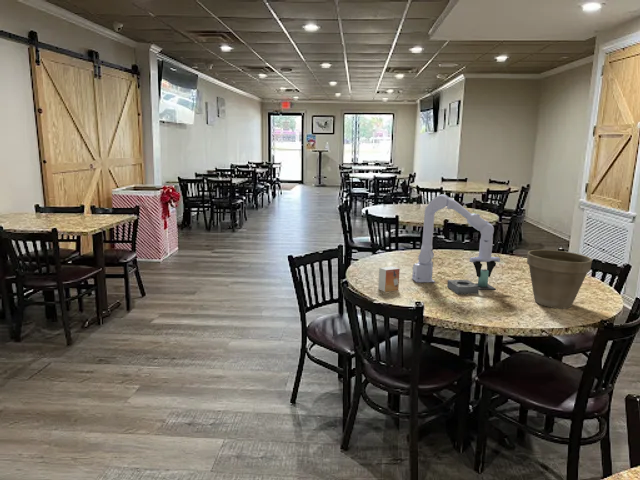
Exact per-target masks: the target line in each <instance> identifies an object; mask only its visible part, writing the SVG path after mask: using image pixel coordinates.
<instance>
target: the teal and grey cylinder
mask: <svg viewBox="0 0 640 480" xmlns="http://www.w3.org/2000/svg"><path fill="white" fill-rule="evenodd" d="M488 275H489V271H488V270H487V268H485V269H484V268H481V274H480V277H478V279H477V284H478V286H480V287H487V286H488V284H489V277H488Z"/></svg>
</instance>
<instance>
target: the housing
mask: <svg viewBox="0 0 640 480" xmlns="http://www.w3.org/2000/svg"><path fill="white" fill-rule="evenodd" d="M476 284H477V283H473V282H472V281H470V280H469V279H448V280H447V286H446V287H447V288H448V289H450V290H451V291H453V292H454V293H455V294H457V295H479V291H480V290H479V286H477V285H476Z"/></svg>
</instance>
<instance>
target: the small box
mask: <svg viewBox="0 0 640 480" xmlns="http://www.w3.org/2000/svg"><path fill="white" fill-rule="evenodd" d="M400 270H401V269H400V268H399V267H395V266H393V265H392V266H384V267H379V268H378V285H377V288H378V290H380V291H382V292H384V293H386V292H395V291H399V284H400Z"/></svg>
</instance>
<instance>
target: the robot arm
mask: <svg viewBox="0 0 640 480" xmlns="http://www.w3.org/2000/svg"><path fill="white" fill-rule="evenodd" d="M444 208H446V209H447V210H454V211H455V212H456V213H458V214H460V215H461V216H462V217H464V218H465V219H466V222H467V224H469V225H470V226H471V227H473V228H474V229H475V230H477V231H479V232H480V238H479V247H478V248H479V249H478V256H475V257H474V256H473V257H469V263H472V264H473V266H474V269H475V272H476V277H480V274H481V269H482V267H483V263H486V270H488V271H489V275H488V278H490V277H491V274H492V272H493V271H494V269H495V267H496V265H497V263H500V262H501V257H498V256H492V251H493V241H494V232H495V227H494V226H493V224H492V223H490V222H489V221H488V220H486V219H484V218H483V217H481V214H479V213H472V212H470V211H469V210H467V209H466V208H465V206H462V204H460V203H459V202H458V201H456V200H455V199H453V198H452V197H451V196H450V197H449V195H447V194H443V193H442V194H439V195H437V196H436V197H434V198H433V199H432V200H431V201H430V202H429V203H428V205H427V206H426V207H425V209H424V217H423V230H422V231H423V232H422V240H421V241H422V243H421V247H420V252H419V254H418V256H417V259H418V262H417V263H413V265H412V277H411V279H412V280H413V281H414V282H415V283H435V282H436V281H435V280H434V279H433V270H434V269H433V267H434V263H433V261H432V260H433V258H434V255H435V254H434V251H433V238H434V236H433V235H434V225H435V215H436V213H437V212H438V211H440V210H442V209H444Z"/></svg>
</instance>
